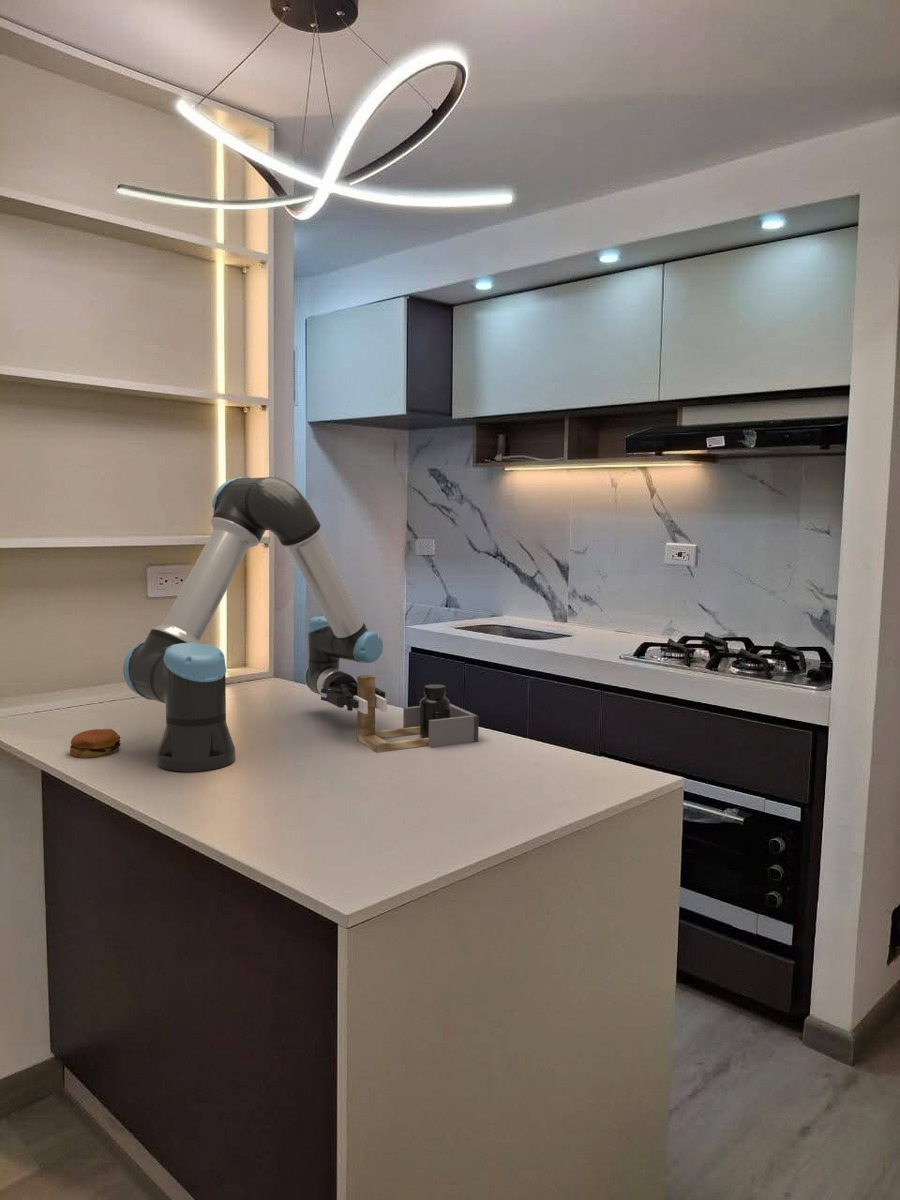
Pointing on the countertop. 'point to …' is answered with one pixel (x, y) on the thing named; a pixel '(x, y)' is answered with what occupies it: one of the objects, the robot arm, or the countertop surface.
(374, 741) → the wooden corner frame
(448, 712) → the supplement bottle
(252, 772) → the countertop surface
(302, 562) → the robot arm
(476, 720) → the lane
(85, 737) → the burger
